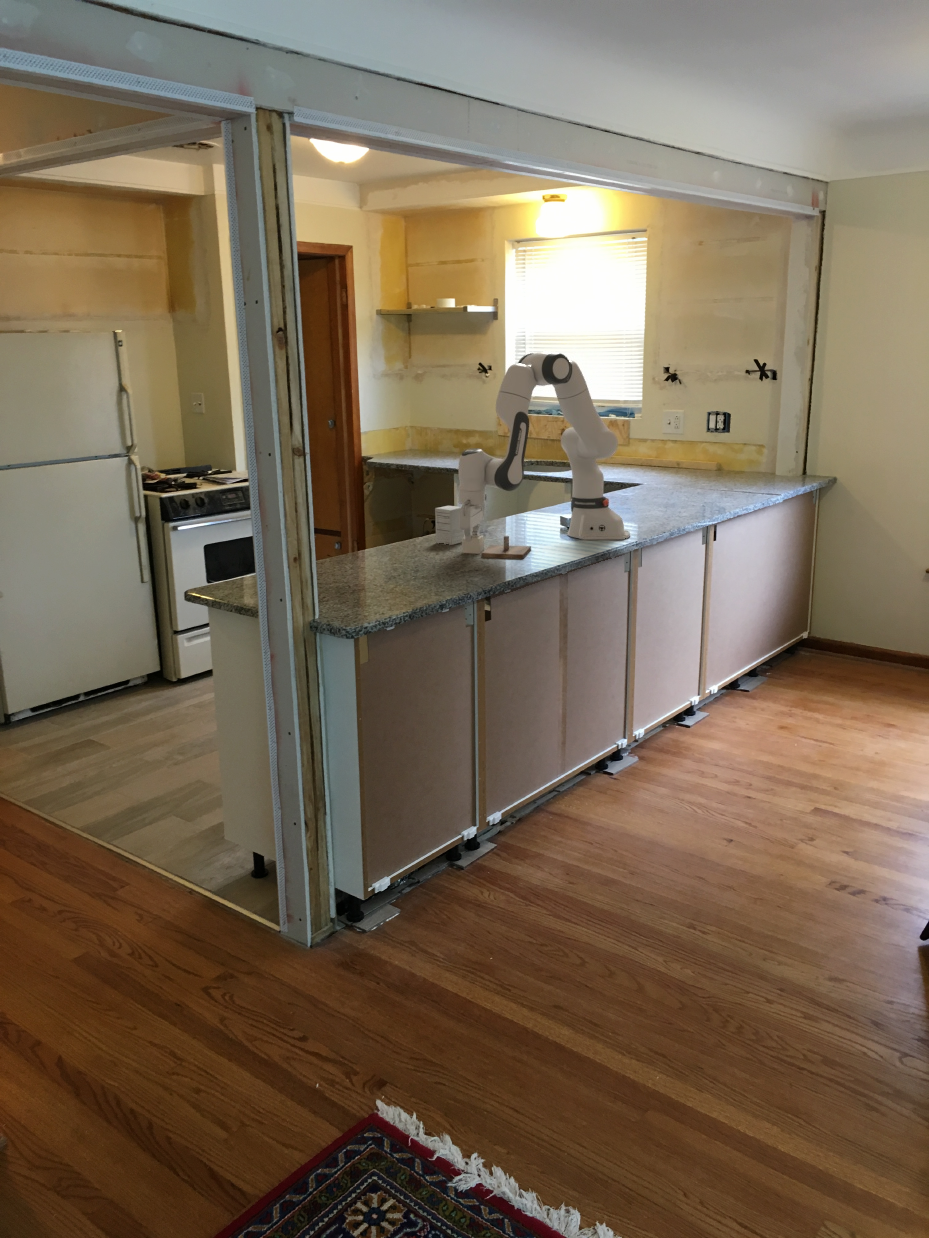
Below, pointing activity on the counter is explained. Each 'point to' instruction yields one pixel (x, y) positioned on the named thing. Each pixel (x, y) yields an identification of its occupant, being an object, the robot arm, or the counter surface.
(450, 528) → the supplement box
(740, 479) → the counter surface
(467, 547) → the collar
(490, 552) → the pin board
